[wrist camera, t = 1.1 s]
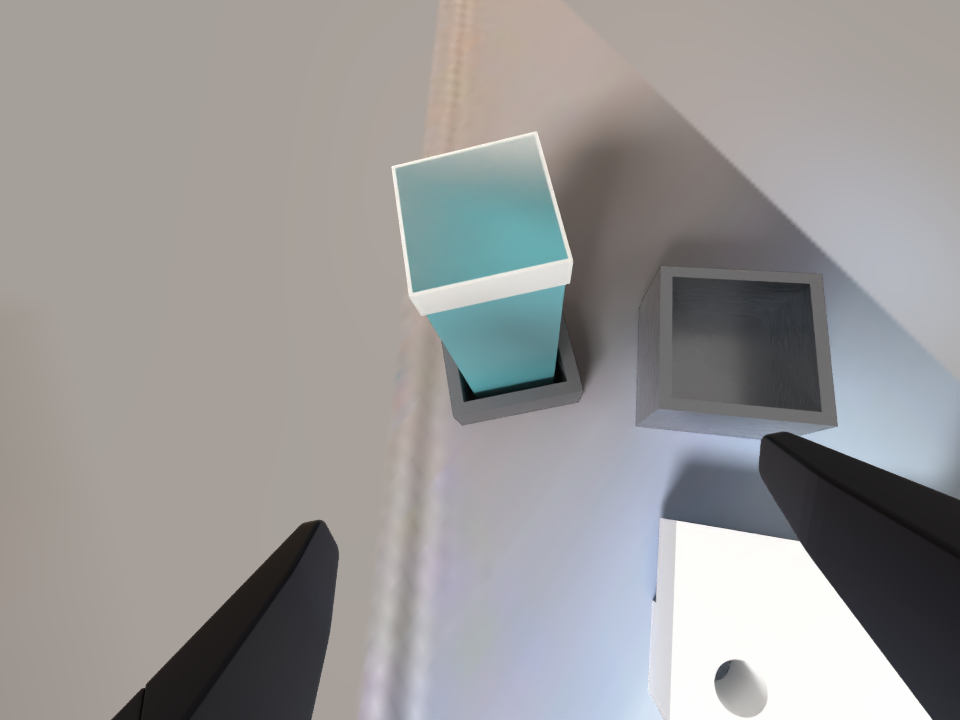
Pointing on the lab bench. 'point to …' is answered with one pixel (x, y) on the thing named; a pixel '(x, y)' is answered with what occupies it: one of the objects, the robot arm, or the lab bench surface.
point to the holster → (519, 400)
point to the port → (734, 353)
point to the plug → (487, 259)
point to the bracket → (760, 635)
